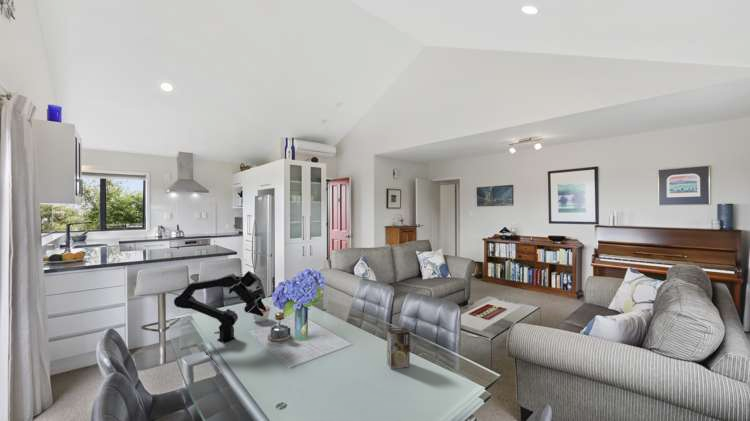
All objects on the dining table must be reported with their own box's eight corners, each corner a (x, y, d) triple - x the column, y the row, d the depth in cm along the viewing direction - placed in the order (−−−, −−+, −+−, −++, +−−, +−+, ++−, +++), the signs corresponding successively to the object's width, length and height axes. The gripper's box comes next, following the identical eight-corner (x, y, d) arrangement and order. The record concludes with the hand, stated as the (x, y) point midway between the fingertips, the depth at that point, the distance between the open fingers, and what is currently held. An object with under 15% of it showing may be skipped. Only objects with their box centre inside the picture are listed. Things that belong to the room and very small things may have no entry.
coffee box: (404, 361, 151) (405, 327, 151) (409, 367, 145) (410, 332, 145) (386, 363, 149) (387, 328, 149) (390, 369, 143) (391, 333, 143)
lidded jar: (266, 323, 195) (266, 308, 195) (248, 323, 195) (249, 308, 195) (272, 318, 206) (272, 303, 206) (255, 317, 206) (256, 302, 206)
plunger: (279, 333, 171) (280, 316, 171) (270, 330, 174) (270, 314, 174) (288, 329, 177) (288, 313, 177) (279, 326, 180) (279, 311, 180)
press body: (280, 343, 168) (280, 333, 168) (262, 338, 173) (263, 329, 173) (295, 335, 178) (295, 326, 178) (278, 331, 184) (278, 322, 184)
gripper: (251, 286, 164) (273, 307, 166) (258, 278, 182) (277, 297, 184) (234, 302, 163) (257, 323, 165) (243, 292, 181) (263, 311, 183)
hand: (264, 312), depth 174 cm, fingers open, 9 cm apart
